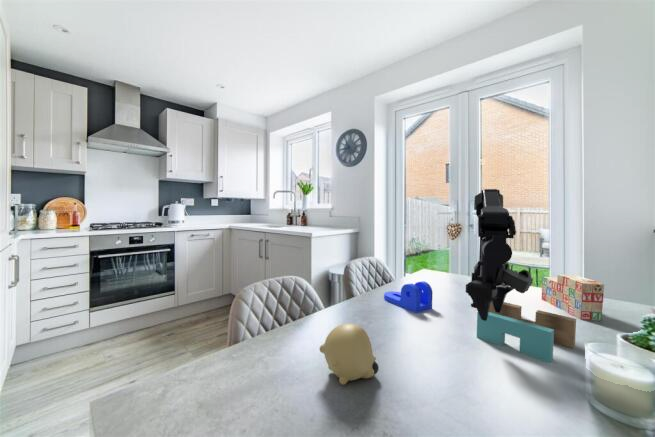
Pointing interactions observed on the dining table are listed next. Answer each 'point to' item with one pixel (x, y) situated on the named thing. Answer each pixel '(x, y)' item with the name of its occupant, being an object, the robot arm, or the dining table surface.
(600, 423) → the dining table surface
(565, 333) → the walnut slotted board
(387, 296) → the bracket
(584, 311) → the stack of blocks
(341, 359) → the toy pig
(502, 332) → the teal slotted plate
